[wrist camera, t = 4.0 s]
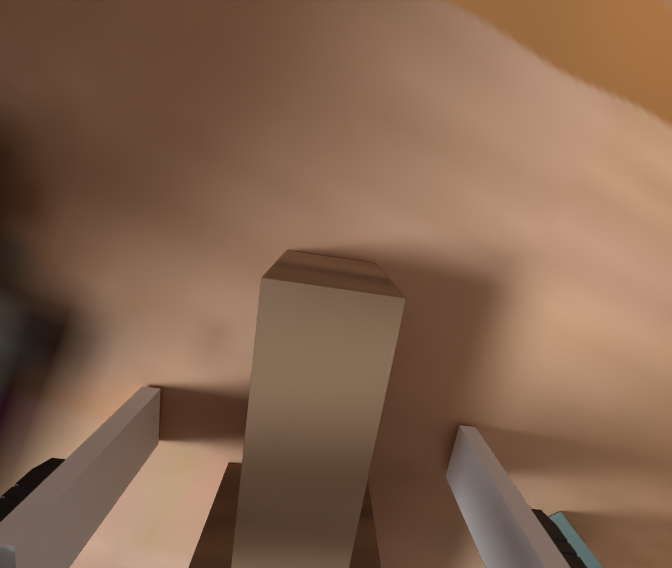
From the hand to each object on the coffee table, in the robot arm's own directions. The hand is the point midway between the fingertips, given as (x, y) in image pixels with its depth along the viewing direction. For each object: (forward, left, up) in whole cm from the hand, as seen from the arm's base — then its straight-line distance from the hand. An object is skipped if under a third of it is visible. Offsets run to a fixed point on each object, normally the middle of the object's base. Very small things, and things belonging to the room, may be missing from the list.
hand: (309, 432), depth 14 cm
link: (0, 0, 0) cm, 0 cm away
